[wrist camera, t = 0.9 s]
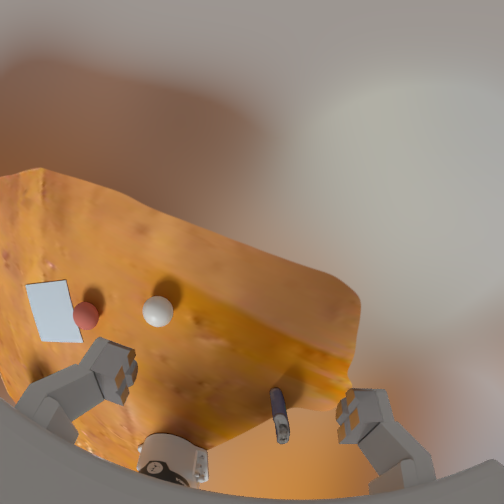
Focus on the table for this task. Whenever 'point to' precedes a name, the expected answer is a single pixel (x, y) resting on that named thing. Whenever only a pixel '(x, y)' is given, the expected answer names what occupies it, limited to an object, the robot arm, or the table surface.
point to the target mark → (53, 312)
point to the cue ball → (157, 311)
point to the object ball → (85, 315)
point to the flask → (280, 416)
